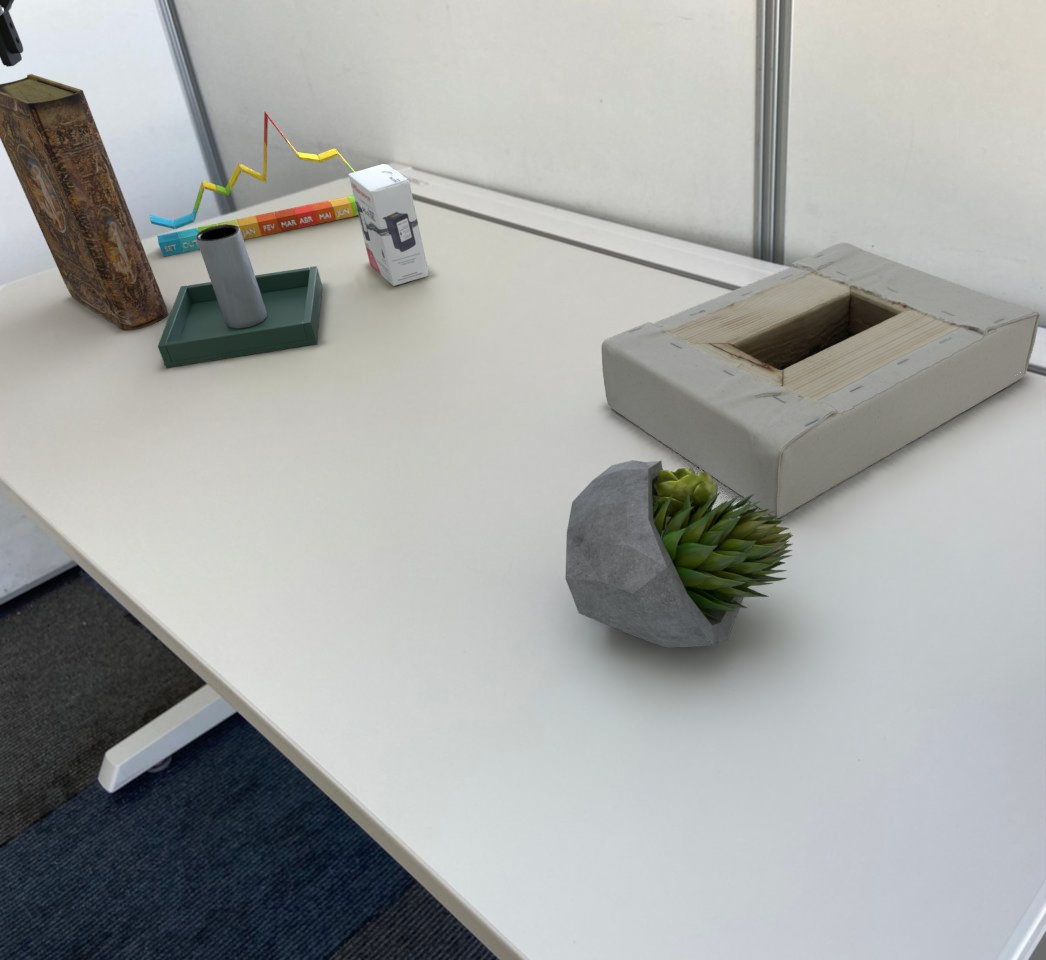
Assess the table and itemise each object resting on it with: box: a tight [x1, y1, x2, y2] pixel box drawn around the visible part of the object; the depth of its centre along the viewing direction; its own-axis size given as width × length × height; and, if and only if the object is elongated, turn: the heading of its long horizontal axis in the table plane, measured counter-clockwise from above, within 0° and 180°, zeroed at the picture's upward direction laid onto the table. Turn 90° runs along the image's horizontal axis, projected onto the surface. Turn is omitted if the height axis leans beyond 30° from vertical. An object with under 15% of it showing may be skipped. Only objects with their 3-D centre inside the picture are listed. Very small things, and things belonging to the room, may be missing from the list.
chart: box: [149, 111, 358, 257], centre depth 130 cm, size 30×3×15 cm, turn 115°
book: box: [0, 73, 169, 331], centre depth 109 cm, size 16×6×25 cm, turn 47°
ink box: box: [347, 163, 430, 287], centre depth 116 cm, size 8×5×12 cm, turn 32°
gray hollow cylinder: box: [196, 225, 267, 328], centre depth 107 cm, size 4×4×10 cm
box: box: [601, 242, 1041, 519], centre depth 88 cm, size 23×8×32 cm
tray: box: [157, 265, 323, 369], centre depth 109 cm, size 16×16×3 cm
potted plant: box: [565, 460, 794, 649], centre depth 64 cm, size 12×13×15 cm
